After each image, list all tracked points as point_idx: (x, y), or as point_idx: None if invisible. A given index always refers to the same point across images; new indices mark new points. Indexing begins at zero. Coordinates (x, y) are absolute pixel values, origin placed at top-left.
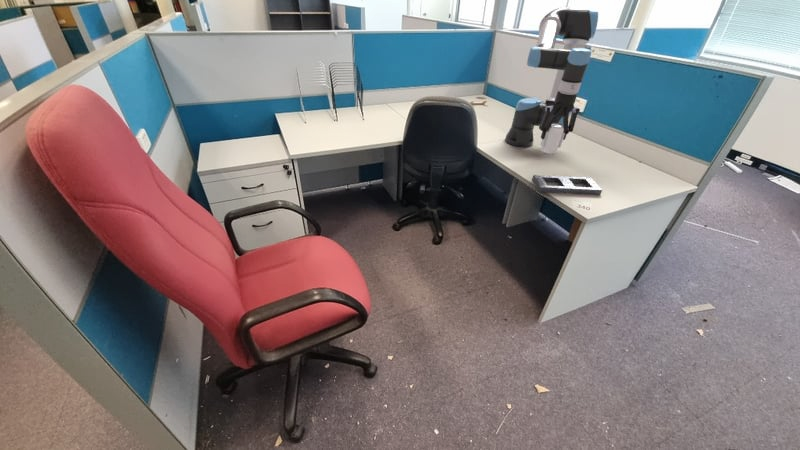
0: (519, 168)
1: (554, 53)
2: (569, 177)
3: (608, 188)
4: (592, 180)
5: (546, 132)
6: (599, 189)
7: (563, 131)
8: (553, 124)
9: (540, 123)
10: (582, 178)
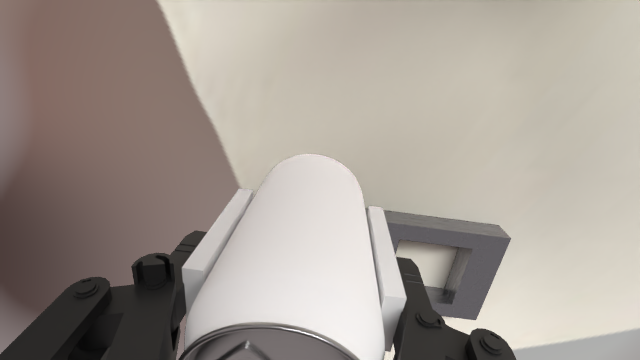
0: (234, 79)
1: None
2: (408, 232)
3: (542, 268)
4: (496, 260)
5: (186, 316)
6: (466, 317)
7: (401, 317)
8: (241, 354)
9: (18, 340)
10: (463, 243)
